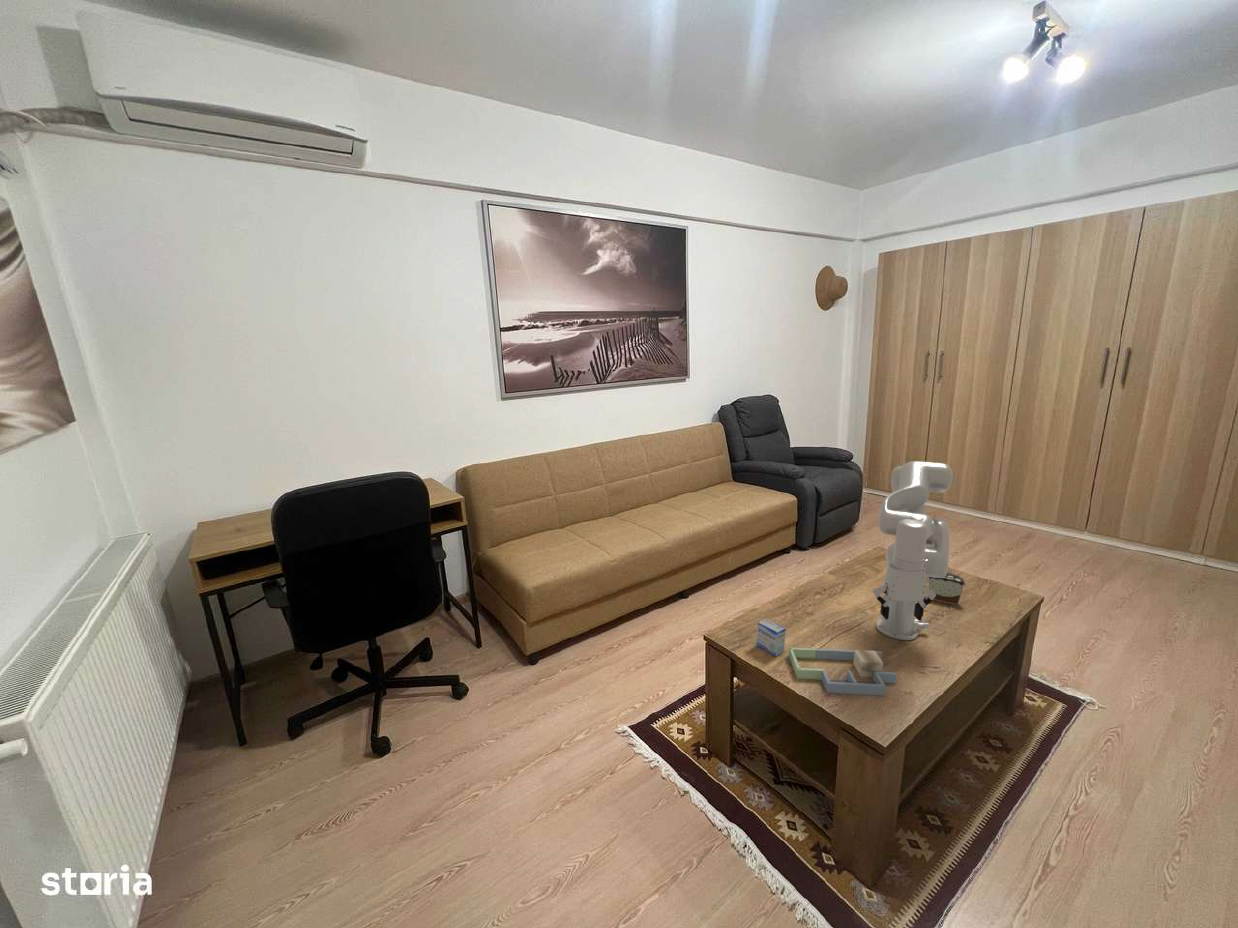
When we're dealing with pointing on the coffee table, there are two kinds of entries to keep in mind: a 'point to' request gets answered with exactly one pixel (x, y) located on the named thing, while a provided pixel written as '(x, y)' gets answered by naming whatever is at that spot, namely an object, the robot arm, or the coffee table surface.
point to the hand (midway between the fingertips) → (901, 617)
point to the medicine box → (770, 637)
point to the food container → (947, 588)
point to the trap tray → (850, 684)
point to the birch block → (867, 662)
